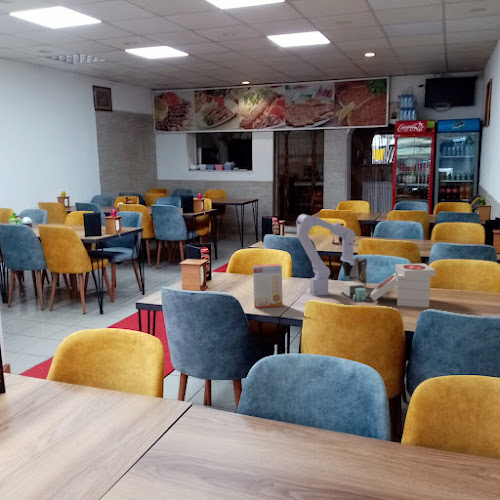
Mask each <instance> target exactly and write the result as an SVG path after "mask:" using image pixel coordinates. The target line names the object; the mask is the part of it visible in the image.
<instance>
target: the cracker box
mask: <svg viewBox="0 0 500 500" xmlns="http://www.w3.org/2000/svg"><path fill="white" fill-rule="evenodd" d="M252 275H253V277H252V279H253V282H252V283H253V305H254V308H255V309H257V308H259V309H260V308H261V309H262V308H282V307H283V306H284V305H283V300H284V299H283V266H282V264H281V263H263V264H262V263H261V264H253V265H252Z"/></svg>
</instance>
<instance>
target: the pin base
mask: <svg viewBox="0 0 500 500" xmlns="http://www.w3.org/2000/svg"><path fill="white" fill-rule="evenodd" d="M340 294H341V295H343V296H344V297H345V298H347V299H349V300H350V301H351V302H353V303H361V302H362V303H363V302H373V301H374V300H373V299H372V298H371V297H370V295H368V294H367V293H366V299H364V296H362V300H358V299H356V298H355V292H351V293H350V297H349V296H348V295H346V294H345V293H343V291H341V292H340Z"/></svg>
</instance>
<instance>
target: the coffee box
mask: <svg viewBox="0 0 500 500" xmlns="http://www.w3.org/2000/svg"><path fill="white" fill-rule="evenodd" d="M354 259H355V260H354V261H355V265H353V267H352V269H351V273H350V276H348V277H349V279H348V281H360V282H362V283H364V284H365V288H367V263H368V262H367V258H358V257H357V258H356V257H355V258H354Z"/></svg>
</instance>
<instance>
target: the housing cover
mask: <svg viewBox="0 0 500 500" xmlns="http://www.w3.org/2000/svg"><path fill="white" fill-rule="evenodd" d="M355 288H364V289H365V290H366V287H365V284H364V283H362V282H360V281H349V280H346V281H342V292H343V293H345V294H346V295H348V296H349V297H350V293H351V292H355Z"/></svg>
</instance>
